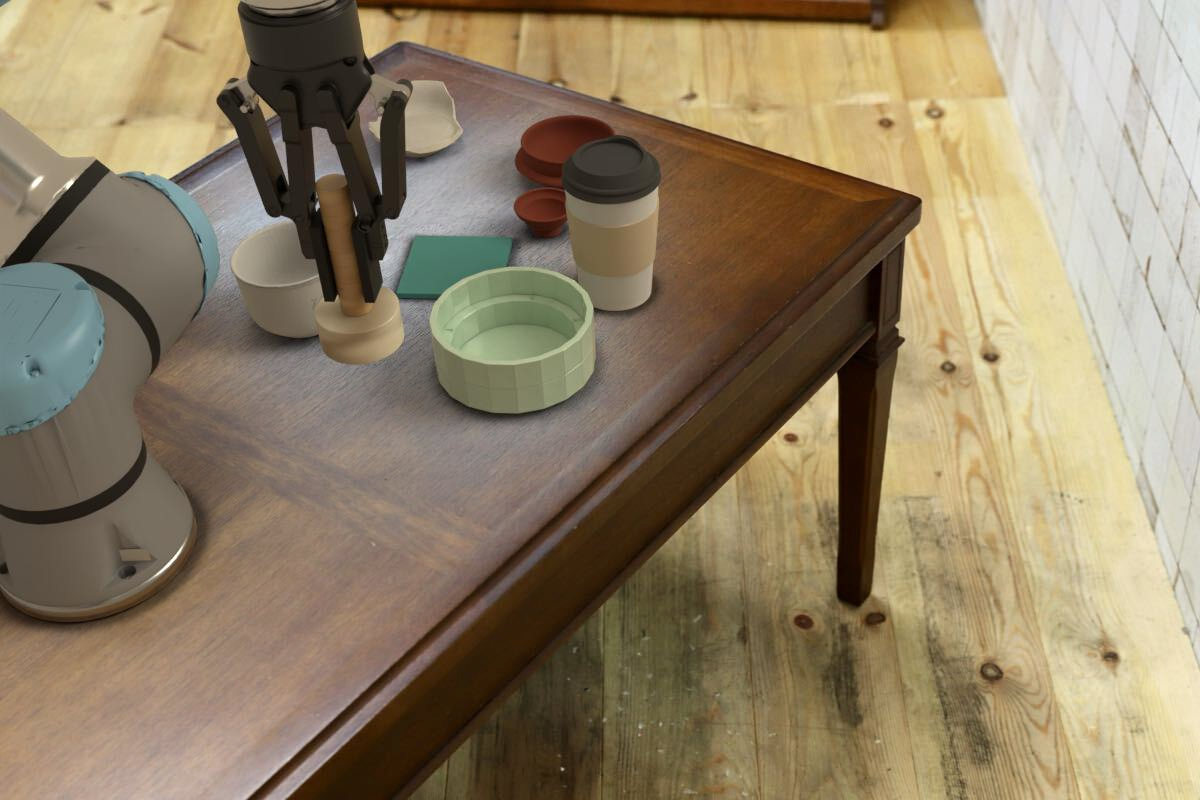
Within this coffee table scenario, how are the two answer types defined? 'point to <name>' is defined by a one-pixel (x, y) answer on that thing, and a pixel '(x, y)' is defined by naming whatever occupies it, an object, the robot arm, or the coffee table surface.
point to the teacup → (278, 281)
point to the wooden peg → (352, 289)
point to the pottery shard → (426, 120)
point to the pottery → (551, 167)
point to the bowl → (513, 339)
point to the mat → (449, 262)
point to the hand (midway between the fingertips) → (353, 291)
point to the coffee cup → (613, 219)
